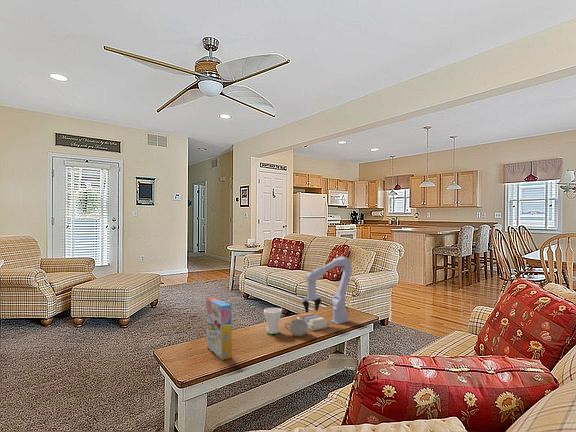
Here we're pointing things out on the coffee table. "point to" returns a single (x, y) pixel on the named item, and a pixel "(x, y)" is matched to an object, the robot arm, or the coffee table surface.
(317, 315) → the slate key
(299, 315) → the terracotta key
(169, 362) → the coffee table surface
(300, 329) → the teacup
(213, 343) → the game box
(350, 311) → the coffee table surface
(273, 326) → the cup
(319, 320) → the ivory key
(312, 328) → the cream drawer frame
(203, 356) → the coffee table surface
